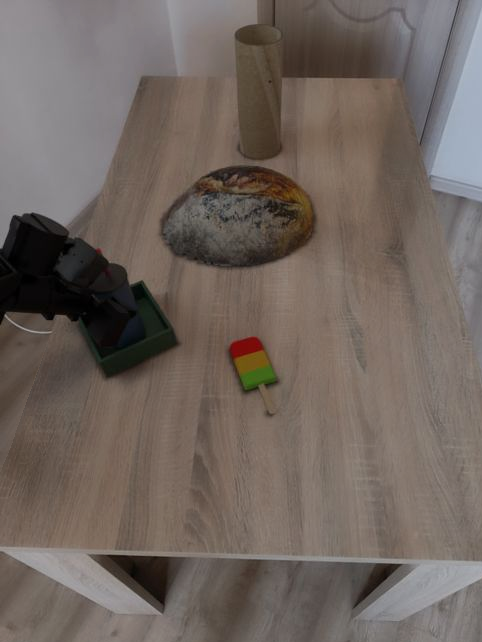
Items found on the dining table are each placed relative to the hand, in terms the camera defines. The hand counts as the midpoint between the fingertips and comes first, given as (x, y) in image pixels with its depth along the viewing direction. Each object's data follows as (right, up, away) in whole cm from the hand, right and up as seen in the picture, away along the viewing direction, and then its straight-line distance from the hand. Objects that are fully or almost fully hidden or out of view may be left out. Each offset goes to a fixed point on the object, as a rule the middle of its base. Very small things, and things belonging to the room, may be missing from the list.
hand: (123, 302), depth 79 cm
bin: (-1, -5, +6) cm, 8 cm away
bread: (+18, +20, +23) cm, 35 cm away
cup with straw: (-1, -5, +5) cm, 7 cm away
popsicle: (+22, -13, +1) cm, 26 cm away
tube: (+22, +42, +39) cm, 62 cm away
